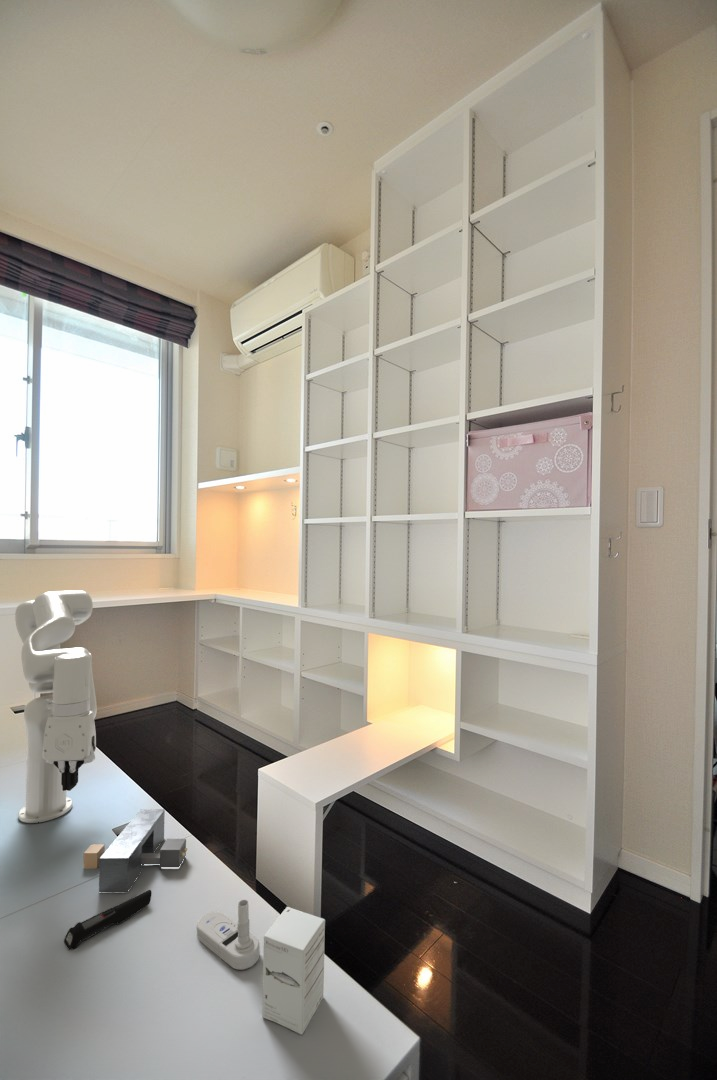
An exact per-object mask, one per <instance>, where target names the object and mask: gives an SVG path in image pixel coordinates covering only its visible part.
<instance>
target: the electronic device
mask: <svg viewBox="0 0 717 1080" xmlns="http://www.w3.org/2000/svg"><path fill="white" fill-rule="evenodd" d="M237 906H238V907H237V909H238V910H237V911H238V913H237V915H238V916H237V917H238V920H237V922H236V921H235V920H233V919H231V918H230V917H229V916H227V914H225V913H224V912H221V911H218V910H217V911H216V910H215V911H210V912H208V913H206V914H204V915H202V916H201V917H200V918H199V919H198V921H197V922H196V923H197V924H196V937H197V939H198V941H199V942H201V943H202V944H203V945H204V946H205V947H206V948H208V949H209V950H210V951H212V952H213V954H215V955H216V956H217V957H219V958H220V959H221V960H222V961H224V962H225V963H226V964H227V965H229V966H230V967H231V968H232V969H235V970H240V971H242V970H247V969H249V968H251V967H253V966H254V965H255V964H256V963H257V962H258V960H259V958H260V955H261V954H260V951H261V950H260V940H259V939H258V938H257V937H256V935H254V934H253V933H251V932H250V919H249V915H250V914H249V900H247V899H241V900H240V901H239V902H238V903H237Z"/></svg>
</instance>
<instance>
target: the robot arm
mask: <svg viewBox="0 0 717 1080" xmlns="http://www.w3.org/2000/svg"><path fill="white" fill-rule="evenodd" d="M93 605H94V604H93V599H92V597H91V595H90V594H89V593H88V592H87V591H85V590H79V589H78V590H55V591H54V590H53V591H46V592H43V593H41V594H38V595H37V596H36V597H35V598H34V599H32V600H27V601H24V602H22V603H20V604H18V606H16V608H15V609H16V610H15V613H14V615H15V616H14V621H15V627H16V630H17V633H18V636H19V638H20V640H21V642H22V643H23V645H22V648H21V653H20V654H21V656H20V657H21V666H22V671H23V676H24V678H25V680H26V681H27V682H28V687H29V690H30V691H31V692H33V693H34V694H48V695H43V696H40V697H36V698H34V699H32V700H30V701H29V702H28V703H27V704H26V705H25V707H24V711H23V720H24V721H23V722H24V727H25V732H26V772H25V773H26V777H25V778H26V779H25V782H26V785H25V805H24V806H23V807H22V808H20V810H19V811H18V820H19V821H20V822H22V823H27V824H35V823H36V824H38V822H39V823H44V822H48V821H52V820H55V819H57V818H60V817H61V816H64V815H66V813H68V812H69V811H70V810H71V809H72V807H73V800H72V798H71V797H68V796H67V791H69V792H70V791H71V790H73V789H74V788H75V787H77V785H78V783H79V770H80V768H81V767H82V766H83V765H86V764H89V763H92V762H94V761H95V760H96V756H95V751H96V748H97V733H96V725H95V724H96V723H95V719H96V716H97V710H98V708H97V707H98V706H97V704H98V703H97V697H96V689H95V682H94V674H93V673H94V672H93V668H92V667H93V657H92V656H93V655H92V653H91V652H90V651H89V650H88V649H87V648H85V647H82V646H80V647H69V648H67V647H66V648H61V644H63V643H65V642H67V641H68V640H69V639H70V638H71V637H72V636H73V634H74V633H75V630H76V626H79V625H81V624H83V623H84V622H86V621H87V620H88V619H89V618H90V617H92V616H91V615H92V613H93V609H94V606H93ZM51 693H52V694H51Z"/></svg>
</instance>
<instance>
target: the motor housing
mask: <svg viewBox="0 0 717 1080" xmlns="http://www.w3.org/2000/svg"><path fill="white" fill-rule="evenodd" d="M165 812H166V811H165V809H161V808H160V809H158V808H157V809H154V808H151V809H148V808H143V809H141V808H140V809H139V811H138V812H137V813H136V815H135V816H134V817H132V819H131V820H130V822H129V823H128V824H127V825H126V826H125V827H124V829H122V831H121V832H120V833H119V835H118V836H116V838H115V839H114V840H113V842H112V843H111V844H110V845H109V846H108V848H107V849H106V850H104V854H103V855H102V856H101V857H100V862H99V866H98V867H99V870H98V873H99V874H98V893H99V892H128V890H129V889H130V888H132V887H133V886H134V884H135V883H134V881H135V880H136V878H137V877H138V876H139V877H140V875H141V874H140V872H141V873H142V866H141V858H142V853H154V851H155V850H156V848H157V847H158V846H159V847H160V845H161V844H162V842H163V841H162V840H165ZM161 841H162V842H161ZM160 843H161V844H160ZM159 844H160V845H159ZM159 847H158V848H159ZM158 848H157V849H158ZM156 851H157V850H156ZM156 851H155V852H156ZM139 874H140V875H139ZM139 877H138V878H139ZM138 878H137V879H138ZM136 881H137V880H136ZM136 881H135V882H136ZM133 883H134V884H133ZM132 885H133V886H132ZM131 886H132V887H131ZM130 890H131V889H130ZM130 890H129V891H130ZM128 893H129V892H128Z"/></svg>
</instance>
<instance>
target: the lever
mask: <svg viewBox="0 0 717 1080" xmlns="http://www.w3.org/2000/svg"><path fill="white" fill-rule="evenodd" d="M187 851H188V848H187V838H166V840H165V842H164V843H163V845H162V847H161V848H160V850H159V852H155V853H142V858H141V864H142V865H144V864H160V866H159V869H160V868H161V867H179V866H180V864H181V863H182V861H183V859H184V858H185V856H186V857H187ZM104 852H105V843H103V844H100V843H98V844H95V843H94V844H91V845H89V846H88V848H87V849H86V850H85V851H84V852H83V866H82V867H83V869H98V867H99V862H100V857H101V856H102V855H103V854H104ZM185 859H186V858H185Z"/></svg>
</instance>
